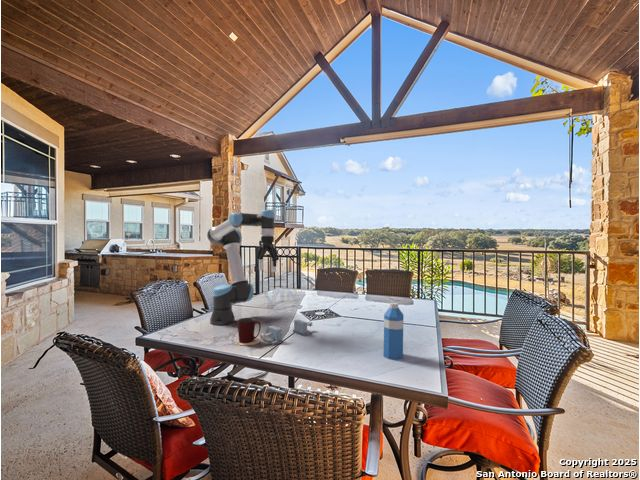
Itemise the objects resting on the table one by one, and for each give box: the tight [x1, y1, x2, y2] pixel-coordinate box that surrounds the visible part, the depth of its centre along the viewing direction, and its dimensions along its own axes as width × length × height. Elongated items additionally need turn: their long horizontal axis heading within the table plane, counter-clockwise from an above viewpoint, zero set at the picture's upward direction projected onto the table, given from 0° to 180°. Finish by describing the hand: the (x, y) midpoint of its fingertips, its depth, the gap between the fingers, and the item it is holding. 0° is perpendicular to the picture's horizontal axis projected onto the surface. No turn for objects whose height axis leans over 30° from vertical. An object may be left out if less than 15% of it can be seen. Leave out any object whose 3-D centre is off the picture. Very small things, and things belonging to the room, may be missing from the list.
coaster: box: [236, 337, 261, 347], centre depth 158 cm, size 12×12×1 cm
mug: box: [237, 317, 262, 343], centre depth 158 cm, size 12×9×11 cm
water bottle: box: [383, 302, 405, 361], centre depth 141 cm, size 9×9×25 cm
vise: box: [259, 318, 313, 346], centre depth 166 cm, size 10×34×7 cm, turn 134°
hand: (267, 271), depth 181 cm, fingers open, 13 cm apart
